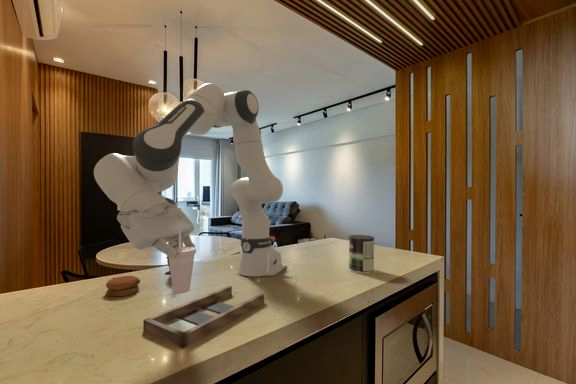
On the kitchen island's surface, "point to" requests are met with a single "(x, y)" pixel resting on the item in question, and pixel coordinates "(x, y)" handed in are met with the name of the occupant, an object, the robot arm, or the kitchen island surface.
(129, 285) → the burger
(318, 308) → the kitchen island surface
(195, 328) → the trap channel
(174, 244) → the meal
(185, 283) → the smoothie
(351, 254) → the coffee can
